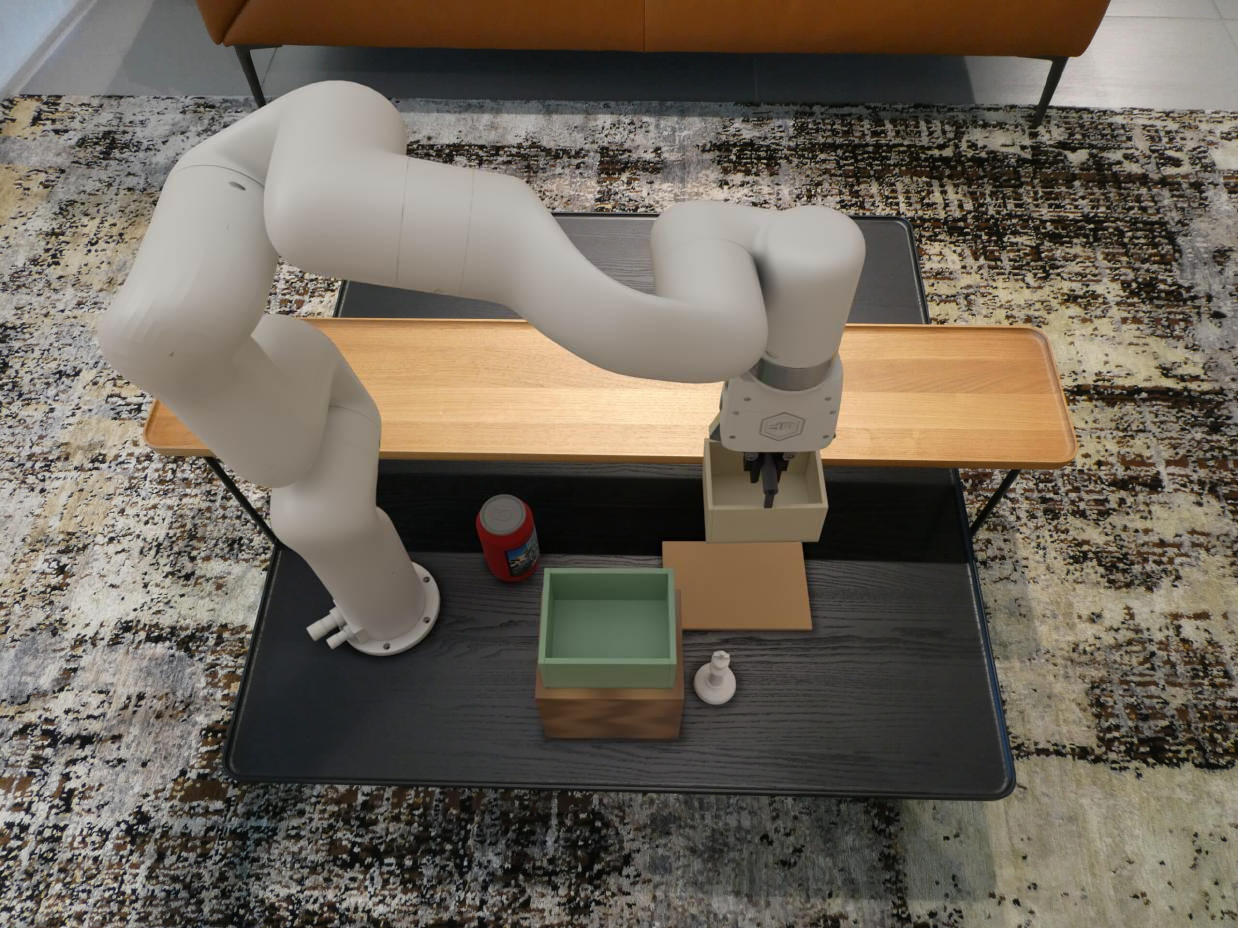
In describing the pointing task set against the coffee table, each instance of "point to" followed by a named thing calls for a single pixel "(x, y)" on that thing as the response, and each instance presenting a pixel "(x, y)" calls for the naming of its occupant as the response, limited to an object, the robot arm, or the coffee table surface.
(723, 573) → the cork mat
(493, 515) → the beverage can
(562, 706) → the wooden block
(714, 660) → the chess piece
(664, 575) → the green bin
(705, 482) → the cream bin
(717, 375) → the robot arm
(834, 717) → the coffee table surface
